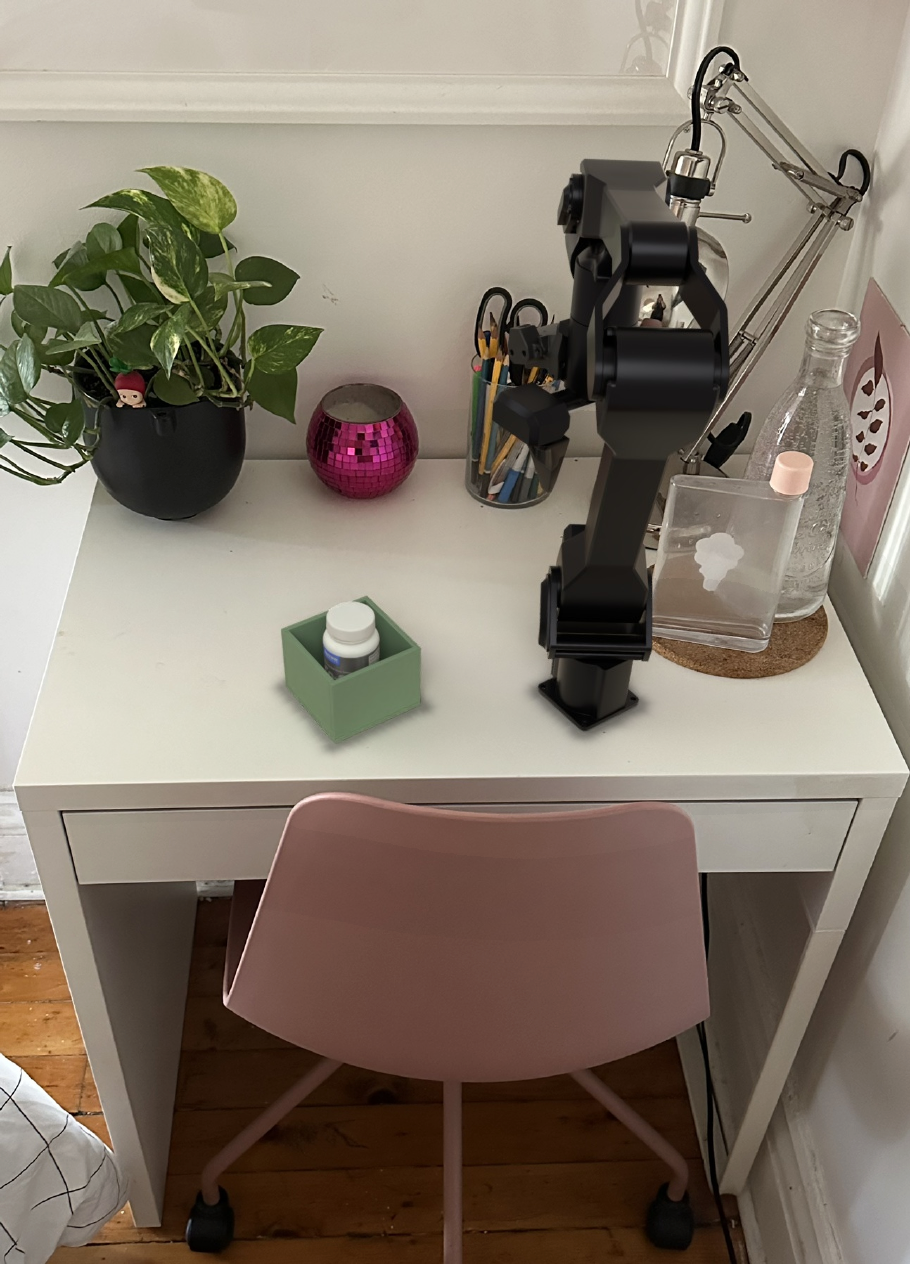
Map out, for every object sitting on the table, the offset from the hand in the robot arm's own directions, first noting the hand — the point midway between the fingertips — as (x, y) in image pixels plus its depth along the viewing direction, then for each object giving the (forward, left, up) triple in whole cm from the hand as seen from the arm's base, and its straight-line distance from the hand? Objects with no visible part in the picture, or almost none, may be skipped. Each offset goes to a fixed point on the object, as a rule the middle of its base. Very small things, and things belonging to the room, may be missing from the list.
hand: (585, 475), depth 106 cm
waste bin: (-3, +27, -12) cm, 30 cm away
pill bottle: (-3, +27, -12) cm, 29 cm away
